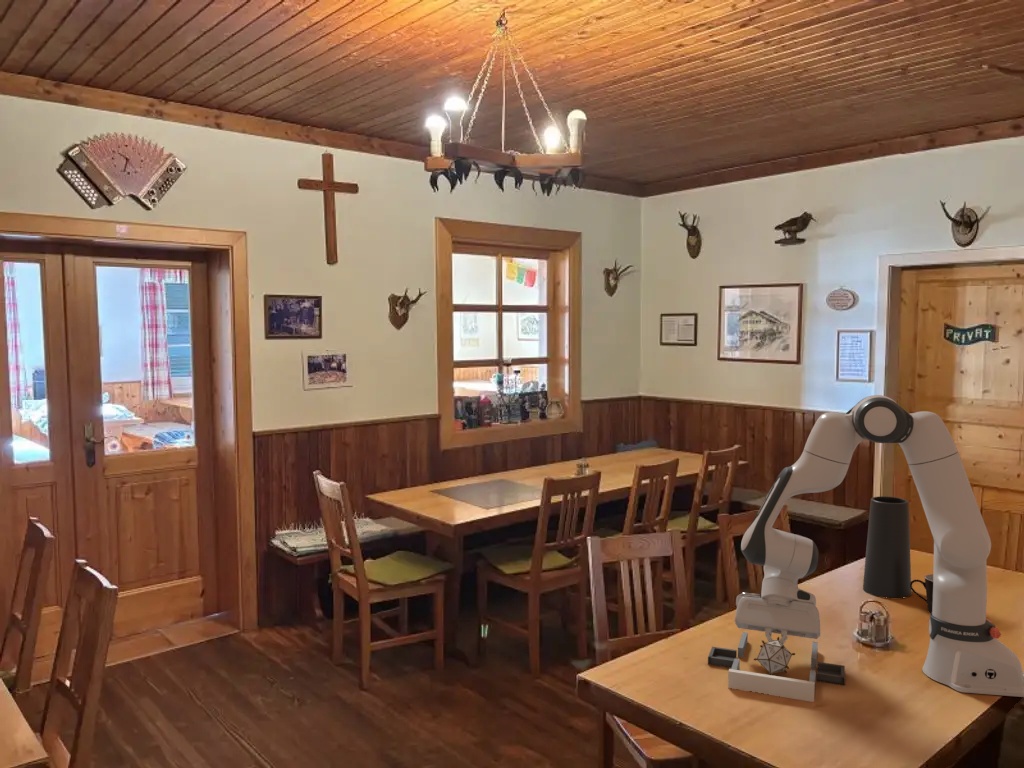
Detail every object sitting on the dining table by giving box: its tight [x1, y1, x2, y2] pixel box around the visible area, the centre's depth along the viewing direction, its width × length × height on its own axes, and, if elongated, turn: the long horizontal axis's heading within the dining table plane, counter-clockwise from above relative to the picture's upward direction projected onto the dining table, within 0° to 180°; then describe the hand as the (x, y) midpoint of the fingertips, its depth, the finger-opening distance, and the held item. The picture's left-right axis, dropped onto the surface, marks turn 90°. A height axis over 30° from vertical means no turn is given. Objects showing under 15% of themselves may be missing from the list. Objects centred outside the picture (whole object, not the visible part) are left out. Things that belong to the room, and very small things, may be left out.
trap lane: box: [707, 631, 846, 703], centre depth 193 cm, size 31×29×4 cm
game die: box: [753, 636, 796, 675], centre depth 191 cm, size 9×8×10 cm
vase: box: [862, 495, 912, 599], centre depth 248 cm, size 14×14×29 cm
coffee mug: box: [910, 573, 933, 614], centre depth 231 cm, size 12×9×10 cm
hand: (775, 648), depth 194 cm, fingers closed, pressing on game die
